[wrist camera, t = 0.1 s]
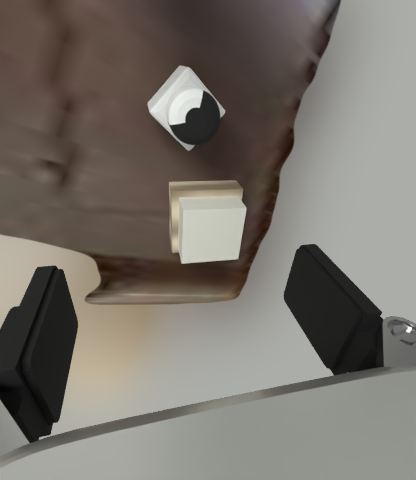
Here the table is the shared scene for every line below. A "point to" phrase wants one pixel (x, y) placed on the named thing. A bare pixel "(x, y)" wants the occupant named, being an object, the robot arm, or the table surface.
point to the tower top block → (210, 228)
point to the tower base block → (196, 191)
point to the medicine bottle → (186, 108)
